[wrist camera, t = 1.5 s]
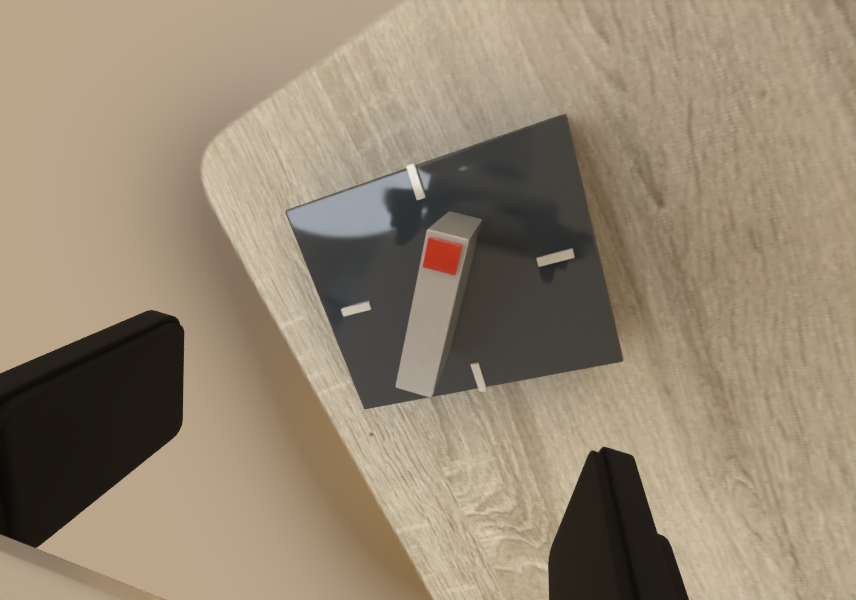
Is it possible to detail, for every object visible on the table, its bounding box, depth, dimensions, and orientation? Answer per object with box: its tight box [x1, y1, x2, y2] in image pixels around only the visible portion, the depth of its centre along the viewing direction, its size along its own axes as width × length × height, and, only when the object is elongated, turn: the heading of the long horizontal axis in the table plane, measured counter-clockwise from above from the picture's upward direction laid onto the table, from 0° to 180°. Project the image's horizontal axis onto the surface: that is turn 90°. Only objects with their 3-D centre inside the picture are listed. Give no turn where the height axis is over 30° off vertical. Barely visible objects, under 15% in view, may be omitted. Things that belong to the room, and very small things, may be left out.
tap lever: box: [396, 211, 482, 398], centre depth 18 cm, size 6×1×4 cm, turn 168°
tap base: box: [286, 114, 623, 409], centre depth 21 cm, size 12×10×3 cm
